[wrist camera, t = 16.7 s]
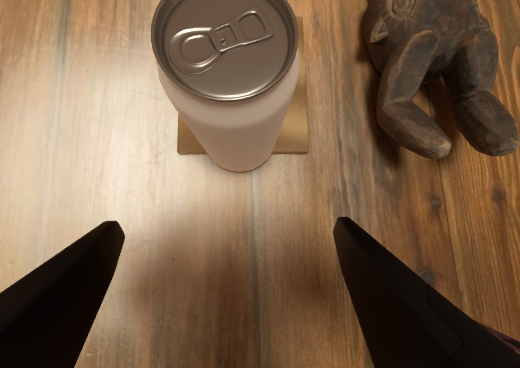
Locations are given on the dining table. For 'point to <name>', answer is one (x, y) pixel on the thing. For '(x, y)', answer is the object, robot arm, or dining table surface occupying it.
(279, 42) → the can
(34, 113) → the dining table surface
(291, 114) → the board
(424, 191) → the dining table surface
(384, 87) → the sculpture
